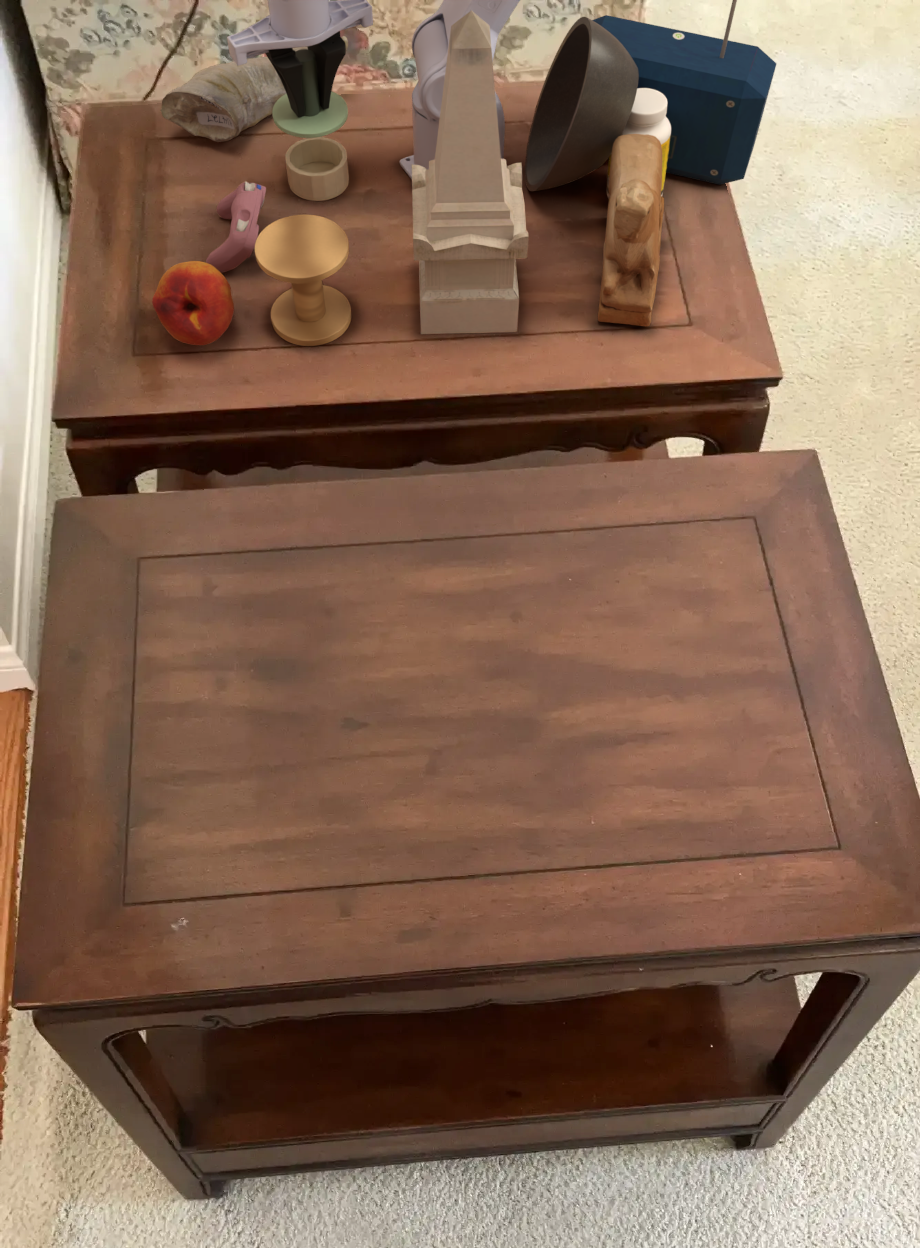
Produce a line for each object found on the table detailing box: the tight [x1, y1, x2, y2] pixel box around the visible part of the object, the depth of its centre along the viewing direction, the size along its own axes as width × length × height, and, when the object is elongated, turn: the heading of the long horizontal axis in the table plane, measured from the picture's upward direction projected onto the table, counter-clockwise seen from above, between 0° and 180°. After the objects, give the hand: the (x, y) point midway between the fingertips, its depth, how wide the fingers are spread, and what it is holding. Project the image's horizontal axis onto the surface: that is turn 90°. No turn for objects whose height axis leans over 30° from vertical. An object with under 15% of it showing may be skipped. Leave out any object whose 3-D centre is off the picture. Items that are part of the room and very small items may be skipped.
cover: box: [271, 49, 349, 139], centre depth 116 cm, size 8×8×6 cm
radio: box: [591, 0, 777, 186], centre depth 121 cm, size 21×9×20 cm, turn 72°
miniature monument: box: [411, 10, 530, 335], centre depth 104 cm, size 10×10×30 cm
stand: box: [254, 214, 352, 347], centre depth 111 cm, size 9×9×9 cm
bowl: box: [524, 16, 639, 192], centre depth 117 cm, size 12×22×6 cm
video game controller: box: [205, 180, 267, 273], centre depth 118 cm, size 10×5×7 cm, turn 179°
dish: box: [284, 136, 350, 202], centre depth 125 cm, size 7×7×3 cm
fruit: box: [151, 260, 235, 346], centre depth 111 cm, size 8×8×8 cm
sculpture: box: [597, 134, 665, 327], centre depth 112 cm, size 6×17×15 cm, turn 172°
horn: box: [160, 35, 349, 143], centre depth 128 cm, size 19×12×10 cm
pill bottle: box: [605, 88, 671, 199], centre depth 121 cm, size 6×6×11 cm
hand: (310, 107), depth 118 cm, fingers closed on cover, 2 cm apart
